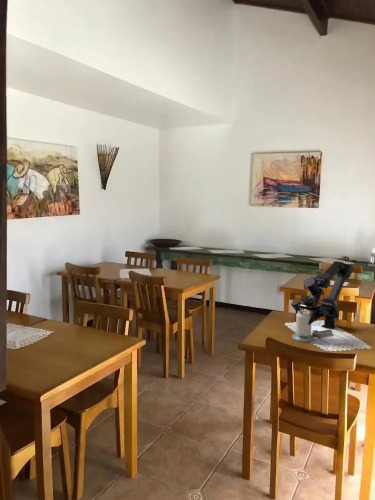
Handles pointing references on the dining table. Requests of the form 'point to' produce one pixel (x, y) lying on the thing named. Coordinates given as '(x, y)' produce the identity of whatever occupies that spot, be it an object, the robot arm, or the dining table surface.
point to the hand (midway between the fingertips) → (302, 322)
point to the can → (303, 323)
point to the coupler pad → (303, 338)
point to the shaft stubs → (321, 333)
